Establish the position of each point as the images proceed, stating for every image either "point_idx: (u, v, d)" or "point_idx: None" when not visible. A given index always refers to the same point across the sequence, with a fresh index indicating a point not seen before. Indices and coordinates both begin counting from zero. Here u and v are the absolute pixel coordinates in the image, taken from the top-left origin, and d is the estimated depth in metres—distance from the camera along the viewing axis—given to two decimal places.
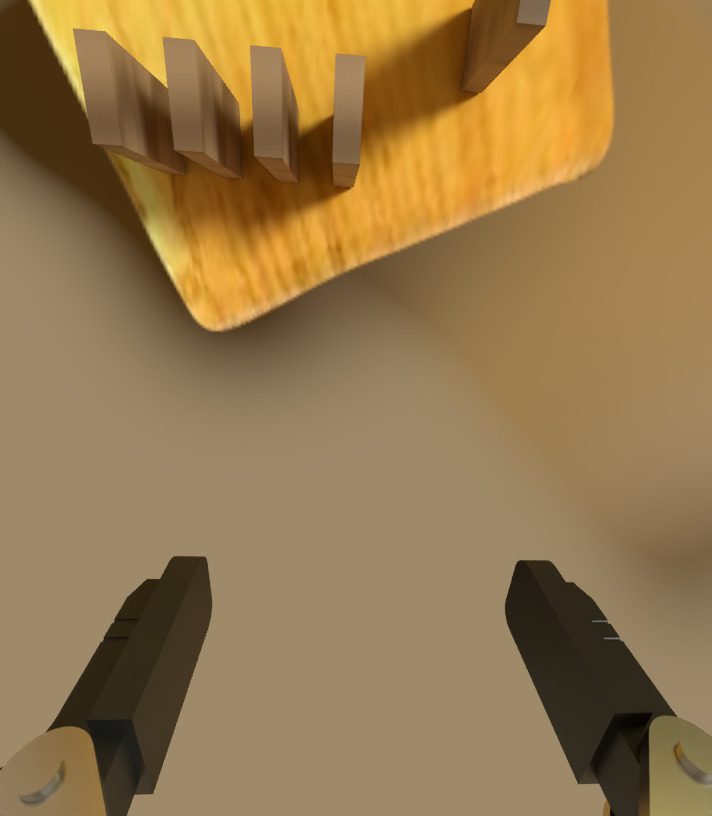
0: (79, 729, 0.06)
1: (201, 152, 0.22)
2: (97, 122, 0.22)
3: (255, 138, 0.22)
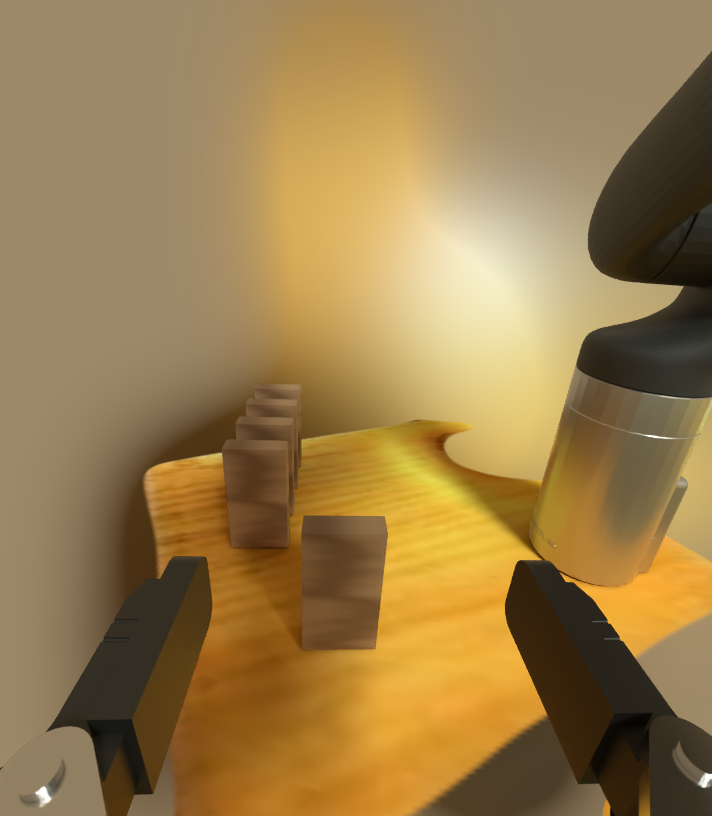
0: (79, 729, 0.06)
1: (246, 405, 0.39)
2: (265, 385, 0.44)
3: None
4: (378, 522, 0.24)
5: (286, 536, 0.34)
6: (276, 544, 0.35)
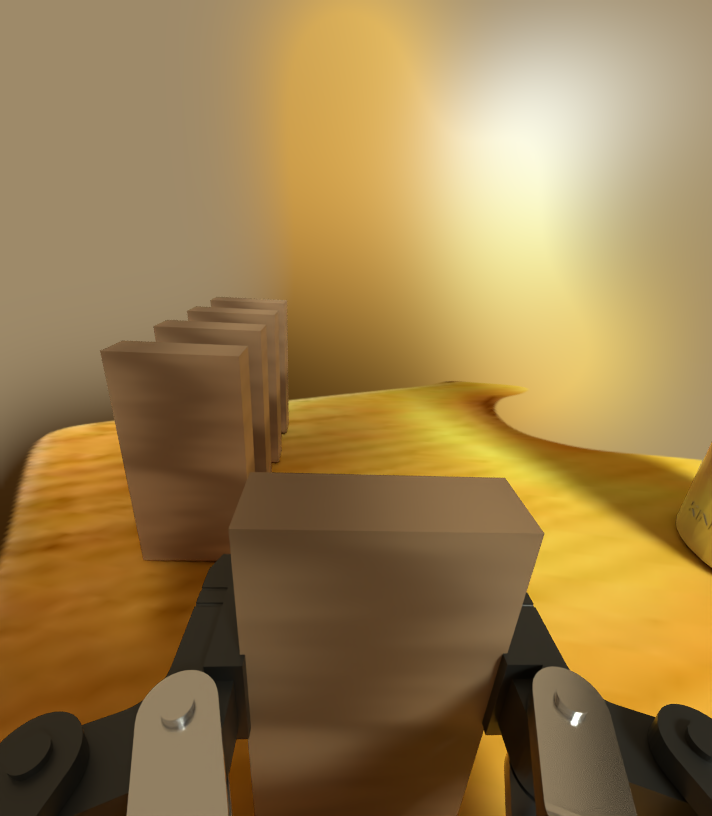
0: (201, 673, 0.07)
1: (188, 313, 0.23)
2: (229, 298, 0.28)
3: None
4: (494, 494, 0.07)
5: None
6: None
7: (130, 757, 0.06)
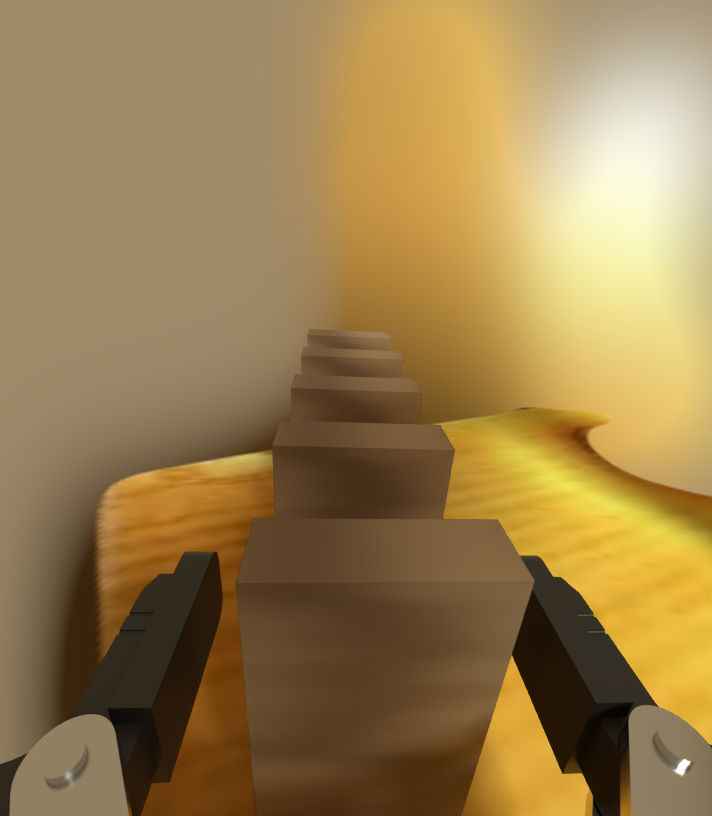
0: (101, 717, 0.06)
1: (301, 358, 0.19)
2: (325, 331, 0.24)
3: (316, 375, 0.16)
4: (487, 538, 0.08)
5: None
6: None
7: None
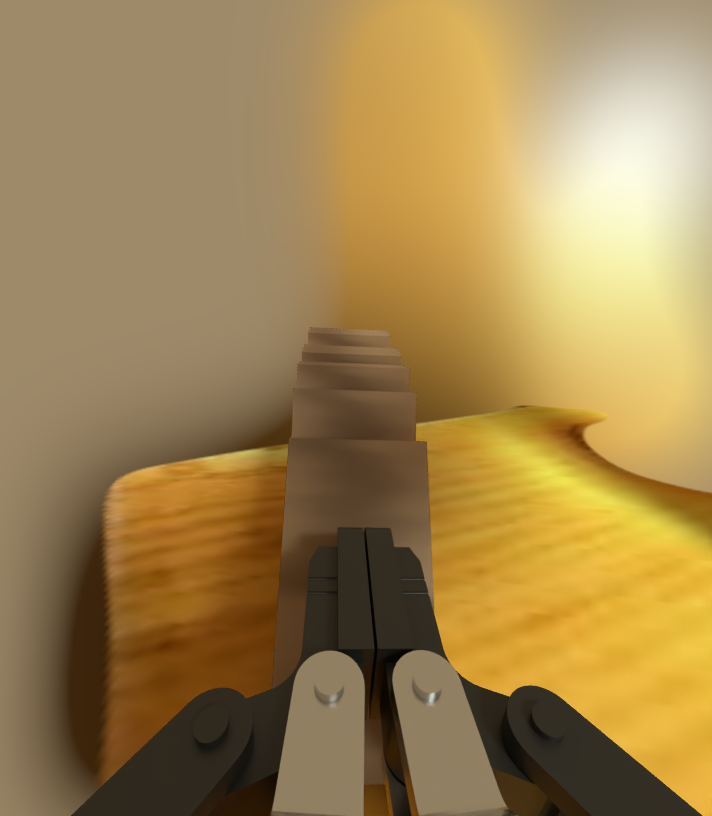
0: (340, 654, 0.07)
1: None
2: (325, 329, 0.25)
3: None
4: None
5: None
6: None
7: None
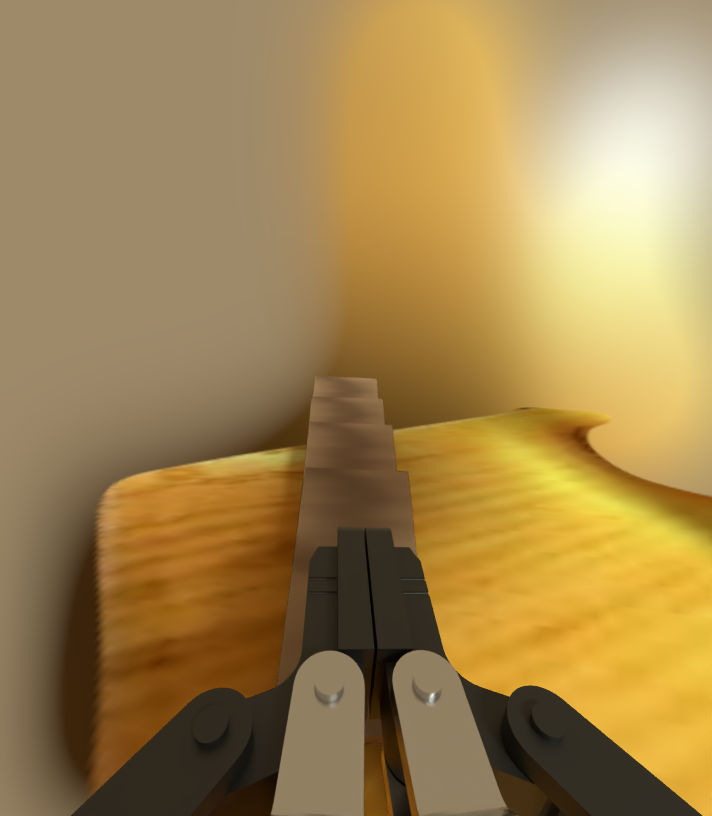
0: (340, 654, 0.07)
1: None
2: None
3: None
4: None
5: None
6: None
7: None
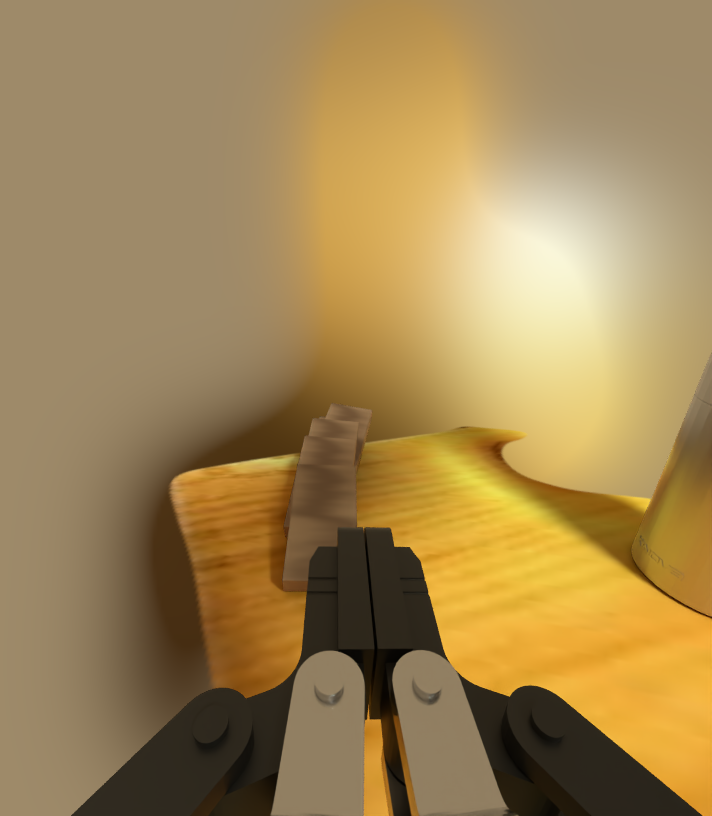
0: (340, 654, 0.07)
1: (331, 405, 0.47)
2: None
3: None
4: None
5: None
6: None
7: None
